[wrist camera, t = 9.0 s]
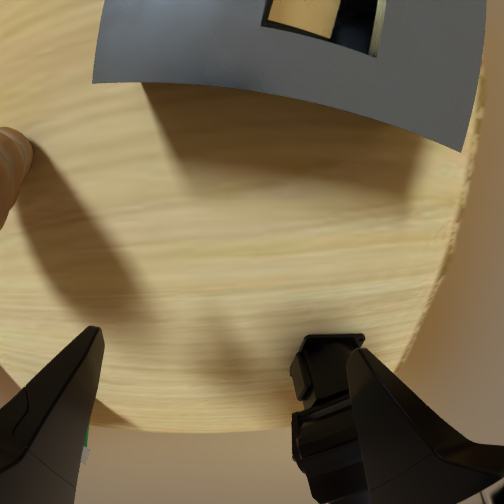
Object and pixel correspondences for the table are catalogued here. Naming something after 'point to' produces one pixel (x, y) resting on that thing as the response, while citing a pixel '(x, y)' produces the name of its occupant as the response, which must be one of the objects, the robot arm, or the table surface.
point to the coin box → (310, 56)
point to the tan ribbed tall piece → (12, 167)
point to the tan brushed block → (302, 17)
